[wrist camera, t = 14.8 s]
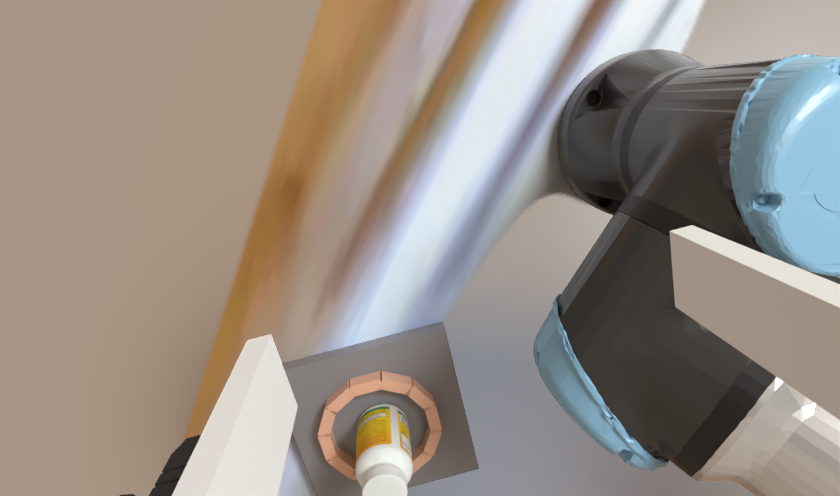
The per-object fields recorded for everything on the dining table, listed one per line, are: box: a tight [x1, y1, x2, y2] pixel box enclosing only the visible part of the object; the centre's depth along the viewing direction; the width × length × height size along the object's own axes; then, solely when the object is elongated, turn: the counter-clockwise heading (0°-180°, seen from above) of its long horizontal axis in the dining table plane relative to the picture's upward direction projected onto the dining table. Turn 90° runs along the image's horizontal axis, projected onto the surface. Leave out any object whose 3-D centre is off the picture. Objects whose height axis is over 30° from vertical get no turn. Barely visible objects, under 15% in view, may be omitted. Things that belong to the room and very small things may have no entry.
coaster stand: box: [282, 322, 479, 496], centre depth 52 cm, size 18×18×3 cm
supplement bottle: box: [355, 404, 413, 496], centre depth 47 cm, size 5×5×10 cm
